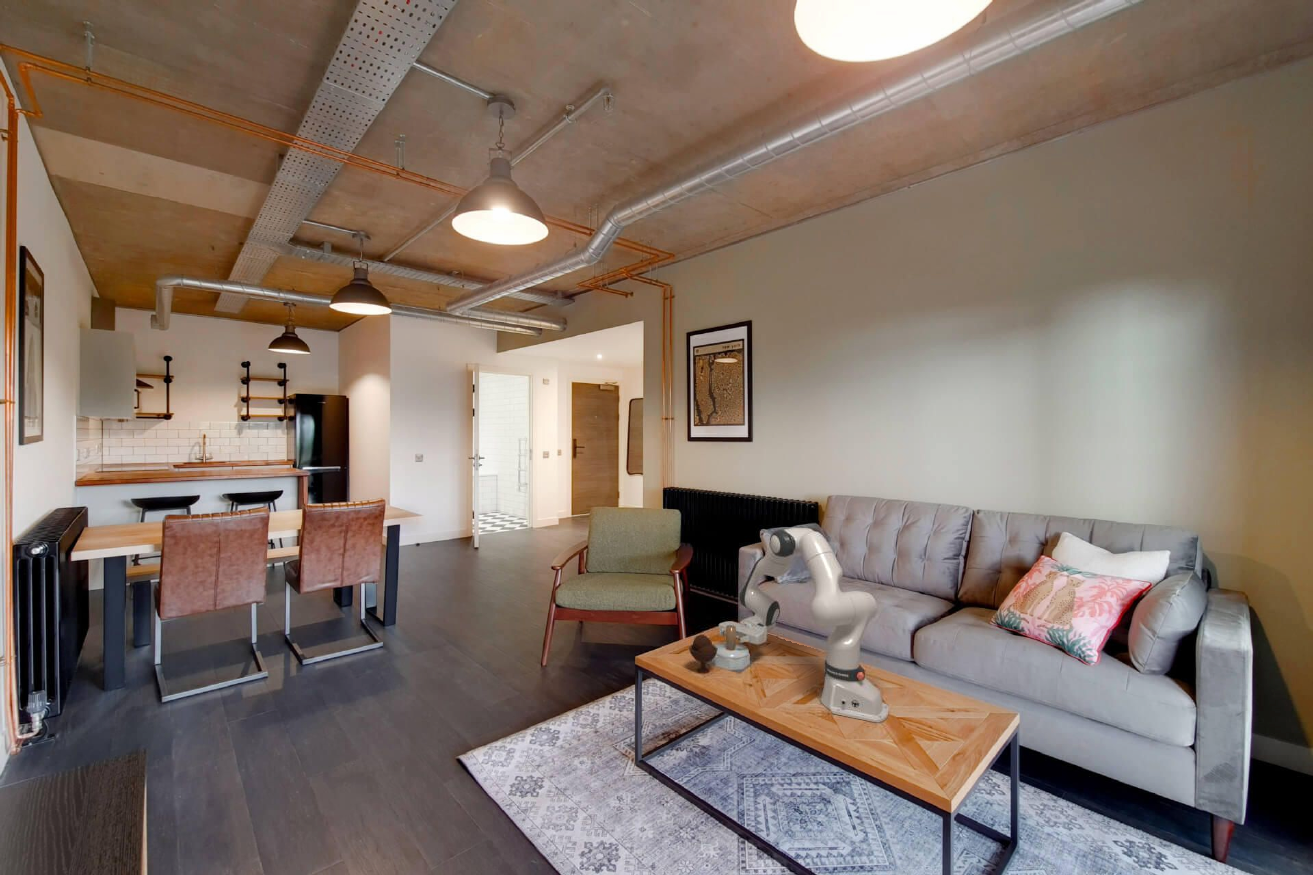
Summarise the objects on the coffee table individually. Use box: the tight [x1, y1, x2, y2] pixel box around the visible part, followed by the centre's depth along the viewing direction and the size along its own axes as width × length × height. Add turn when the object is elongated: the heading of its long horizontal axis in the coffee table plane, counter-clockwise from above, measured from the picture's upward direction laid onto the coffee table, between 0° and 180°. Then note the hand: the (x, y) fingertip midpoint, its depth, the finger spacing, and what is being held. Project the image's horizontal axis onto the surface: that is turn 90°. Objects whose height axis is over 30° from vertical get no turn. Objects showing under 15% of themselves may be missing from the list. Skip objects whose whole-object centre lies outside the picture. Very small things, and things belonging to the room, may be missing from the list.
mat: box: [705, 658, 756, 674], centre depth 230 cm, size 16×15×1 cm
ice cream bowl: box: [689, 634, 718, 675], centre depth 221 cm, size 11×11×15 cm
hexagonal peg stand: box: [711, 625, 751, 671], centre depth 230 cm, size 15×15×14 cm
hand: (730, 637), depth 230 cm, fingers open, 8 cm apart
